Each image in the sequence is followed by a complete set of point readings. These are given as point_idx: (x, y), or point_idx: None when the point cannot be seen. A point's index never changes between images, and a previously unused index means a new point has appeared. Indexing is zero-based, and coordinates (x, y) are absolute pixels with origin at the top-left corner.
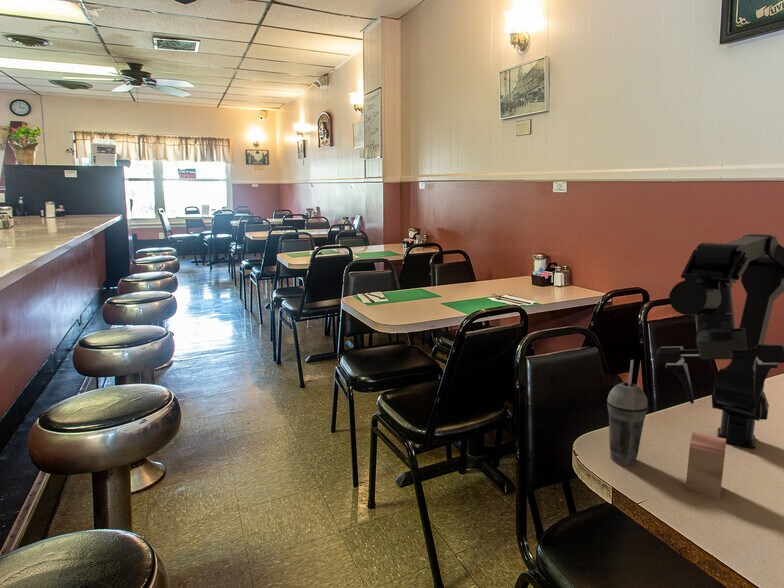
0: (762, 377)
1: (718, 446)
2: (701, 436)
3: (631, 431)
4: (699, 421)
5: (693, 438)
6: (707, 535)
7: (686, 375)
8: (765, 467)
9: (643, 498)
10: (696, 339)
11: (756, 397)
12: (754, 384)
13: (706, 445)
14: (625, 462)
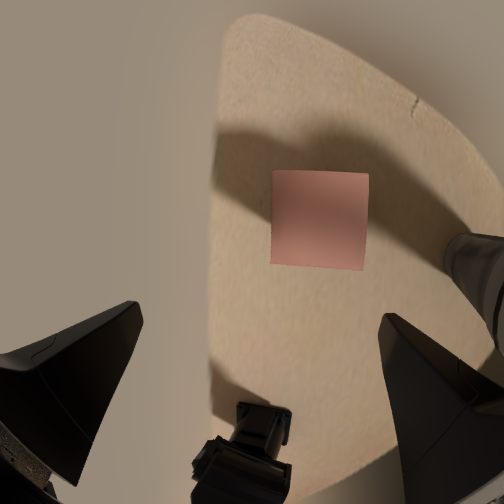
0: (21, 353)
1: (290, 190)
2: (338, 244)
3: (496, 242)
4: (312, 457)
5: (361, 214)
6: (307, 58)
7: (468, 406)
8: (224, 349)
9: (416, 115)
10: None
11: (109, 314)
12: (75, 351)
13: (323, 178)
14: (463, 234)
